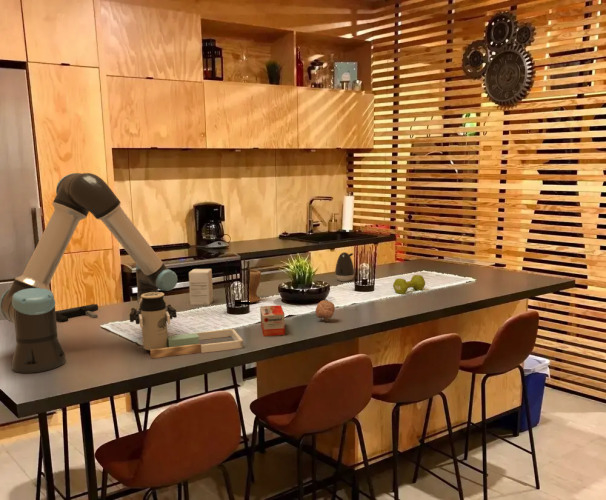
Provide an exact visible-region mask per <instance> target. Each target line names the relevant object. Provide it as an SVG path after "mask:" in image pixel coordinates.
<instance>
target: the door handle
mask: <svg viewBox="0 0 606 500" xmlns="http://www.w3.org/2000/svg"><path fill="white" fill-rule="evenodd" d="M97 310H99V306H98V303H96V304H95V303H93V304H92V303H91V304H88V305H82V306H77V307H70V308H65V309H61V310H60V309H59V310H55V313H56V322H57V321H58V322H59V323H65V322H68V321H69V319H74V318H78V317H85V316H87V317H89V318H92V319H97V318H98V314H97V313H94V312H96V311H97Z"/></svg>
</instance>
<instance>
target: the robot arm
mask: <svg viewBox="0 0 606 500" xmlns="http://www.w3.org/2000/svg"><path fill="white" fill-rule="evenodd" d="M55 193H56V195H55V197H54V200H53V202H52V206H53V209H54V211H53V212H52V214H51V216H50V218H49V221H48V222H47V224H46V227H45V228H44V230H43V232H42V235H41V237H40V239H39V240H38V242H37V244H36V247H35V249H34V250H33V254H32V255H31V257H30V259H29V261H28V263H27V265H26V267H25V269H24V271H23V272H22V275H19V276H17V277H15V278H14V280H13V282H12V284H11V286H10V288H8V289H7V290H5V291H4V293H3V294H2V295H1V298H0V312H1V313H2V316H3V317H4V318H5V320H7V321H8V322H11V323H12V324H14V331H15V342H16V345H15V348H14V352H13V356H12V360H11V366H12V370H13V371H14V372H16V373H22V374H32V373H41V372H46V371H51V370H53V369H56V368H58V367H61V366H63V365H64V364H65V363H66V353H65V351H64V349H63V347H62V345H61V342H60V341H59V339H58V328H57V320H56V313H55V311H56V299H55V297H54V293H53V292H52V291H51V289H50V286H49V285H50V283H51V281H52V279H53V277H54V274H55V273H56V271H57V269H58V267H59V264H60V263H61V260H62V258H63V256H64V253H65V252H66V250H67V248H68V245H69V244H70V242H71V239H72V237H73V236H74V233H75V231H76V229H77V226H78V225H79V223H80V221H82V220H84V219H87V217H88V214H89V213H90V214H91V215H92V216H93V217H94V218H95V220H100V221H101V222H102V223H103V224H104V226H105V227H106V228H107V229H108V231H109V232H110V233H111V234H112V235H113V237H114V238H115V239H116V240H117V242H118V243H119V245H121V247H122V248H123V249H124V251H126V253H127V254H128V256H130V258H131V259H132V261H134V263H135V272H136V273H135V275H136V285H137V288H136V289H137V293H136V294H137V297H136V299H137V301H136V302H137V304H138V307H139V308H138V309H137V308H135V307H132V308H130V313H129V322H130V323H133V322H135V325H139V326H140V327H139V328H142V327H143V321H142V316H141V303H142V301H143V300H142V297H141V295H142V294H145V293H150V292H159V290H160V291H164V292H165V291H167V292H168V291H169V292H170V291H172V290H173V289H175V288H176V286H177V284H178V275H177V274H176V272H175V271H173V270H171V269H170V268H168V267H167V265H165V263H164V262H163V261H162V260H161V258H160V257H159V256H158V254H157V253H156V252H155V251H154V249H153V248H152V246H151V245H150V244H149V243H148V241H147V240H146V239H145V237H144V236H143V235H142V233H141V232H140V231H139V229H138V228H137V227H136V225H135V224H134V223H133V221H132V220H131V219H130V217H128V215H127V214H126V213H125V211H124V209H123V208H122V207H121V201H120V199H119V197H118V196H116V194H115V193H114V192H113V190H112V189H111V188H110V186H109V185H108V184H107V182H105V180H103V178H102V177H100V176H98V175H96V174H93V173H92V172H91V173H90V172H83V173H81V172H75V173H69V174H67V175H65V176H63V177H62V178H61V179H60V180H59V181H58V183H57V184H56V189H55ZM177 314H178V313H177V309H175V308H174V307H173V306H172V304H168V305H167V304H166V319H167V325H171V320H173V318H174V319H176V318H177V317H178V315H177Z"/></svg>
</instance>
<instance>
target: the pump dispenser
mask: <svg viewBox="0 0 606 500" xmlns="http://www.w3.org/2000/svg"><path fill="white" fill-rule="evenodd" d="M353 255H354V254H353V252H351V253H348V252H341V253H340V254H339V255H338V258H337V260H336V264H335V269H334V274H335V277H336V278H337V280H338V281H340V282H350V281H352V279H353V278H354V275H355V267H354V263H353V260H352V256H353Z"/></svg>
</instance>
